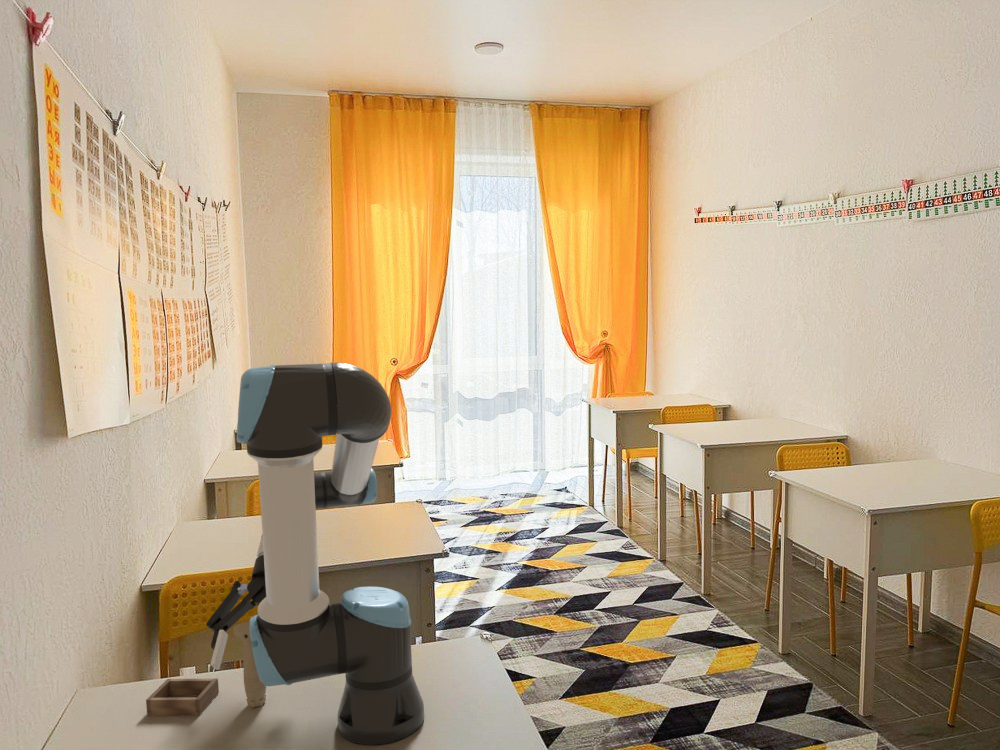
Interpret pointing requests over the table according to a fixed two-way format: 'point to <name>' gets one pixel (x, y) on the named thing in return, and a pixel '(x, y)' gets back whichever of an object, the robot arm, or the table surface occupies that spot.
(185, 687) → the socket block
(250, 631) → the robot arm
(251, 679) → the handle
